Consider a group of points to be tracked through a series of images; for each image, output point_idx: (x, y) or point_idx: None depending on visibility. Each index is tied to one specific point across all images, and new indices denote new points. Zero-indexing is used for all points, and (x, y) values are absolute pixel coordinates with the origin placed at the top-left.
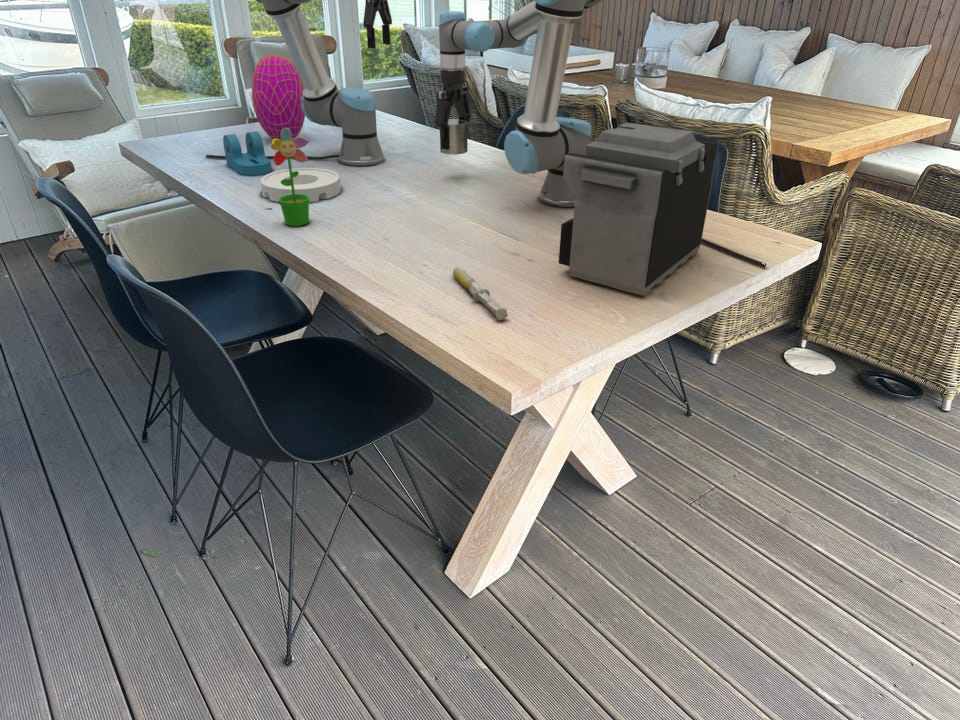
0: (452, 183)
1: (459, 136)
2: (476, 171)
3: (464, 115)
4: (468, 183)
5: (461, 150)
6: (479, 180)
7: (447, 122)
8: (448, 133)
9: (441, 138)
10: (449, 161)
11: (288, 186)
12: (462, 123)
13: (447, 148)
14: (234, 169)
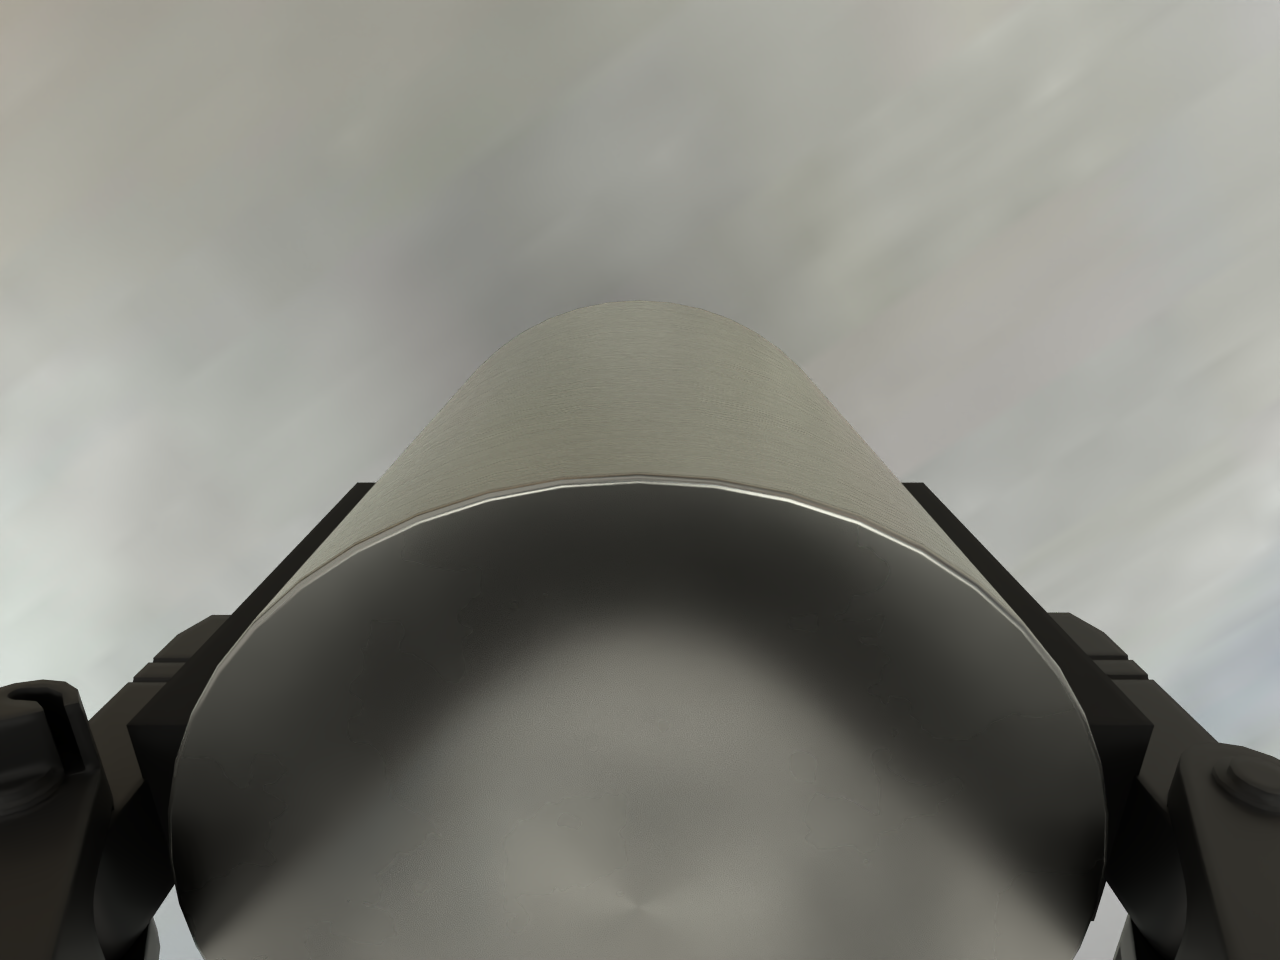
0: (799, 313)
1: (821, 411)
2: (273, 365)
3: (30, 952)
4: (706, 165)
5: (730, 326)
6: (532, 126)
7: (1238, 874)
8: None
9: None
10: None
11: None
12: (720, 537)
13: (931, 496)
14: None
